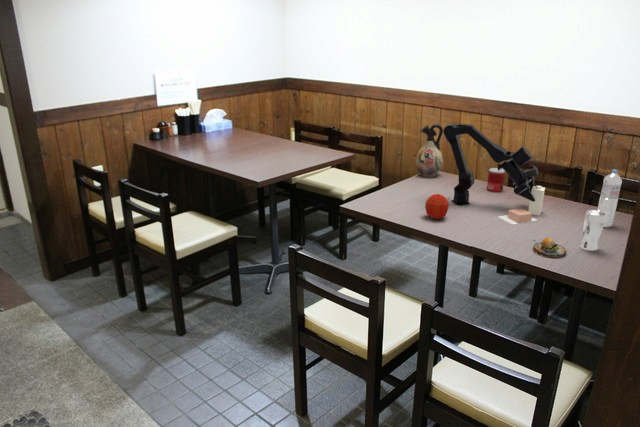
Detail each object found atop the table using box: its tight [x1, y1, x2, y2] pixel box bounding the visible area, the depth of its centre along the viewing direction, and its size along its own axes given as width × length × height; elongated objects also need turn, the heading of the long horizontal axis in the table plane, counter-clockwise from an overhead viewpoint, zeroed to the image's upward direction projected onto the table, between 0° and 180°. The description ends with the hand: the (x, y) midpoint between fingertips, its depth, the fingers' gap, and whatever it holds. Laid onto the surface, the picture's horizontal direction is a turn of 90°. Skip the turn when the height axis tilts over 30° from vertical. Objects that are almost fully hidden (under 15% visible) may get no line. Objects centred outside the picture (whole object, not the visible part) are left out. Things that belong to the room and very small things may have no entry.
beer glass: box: [579, 209, 606, 252], centre depth 200 cm, size 7×7×15 cm
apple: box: [424, 193, 450, 220], centre depth 231 cm, size 10×10×12 cm
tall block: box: [527, 185, 546, 216], centre depth 233 cm, size 5×5×14 cm
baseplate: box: [497, 214, 538, 225], centre depth 229 cm, size 14×10×1 cm
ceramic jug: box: [414, 123, 444, 178], centre depth 289 cm, size 17×15×30 cm
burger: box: [532, 237, 567, 259], centre depth 199 cm, size 12×12×8 cm
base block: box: [507, 207, 533, 224], centre depth 227 cm, size 7×7×4 cm
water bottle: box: [597, 169, 623, 229], centre depth 220 cm, size 7×7×25 cm
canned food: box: [486, 167, 506, 193], centre depth 267 cm, size 8×8×11 cm
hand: (536, 198), depth 233 cm, fingers open, 9 cm apart
